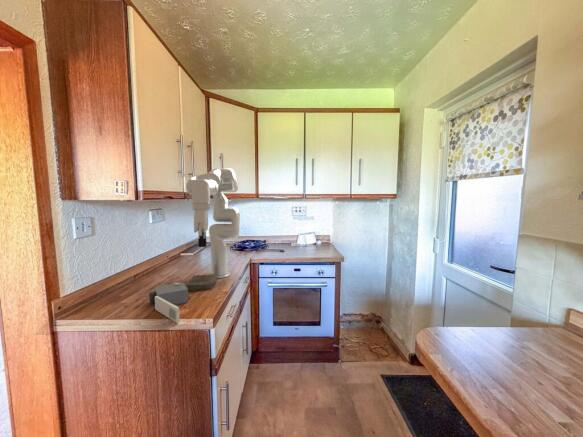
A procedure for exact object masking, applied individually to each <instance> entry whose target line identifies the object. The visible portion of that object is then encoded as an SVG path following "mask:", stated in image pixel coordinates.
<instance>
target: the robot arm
mask: <svg viewBox="0 0 583 437" xmlns="http://www.w3.org/2000/svg"><path fill="white" fill-rule="evenodd" d="M185 190H186V191H187V194H189V195H191V200H192V201H191V202H192V203H191V204H192V207H191V208H192V211H194V212H193V233H197V232H198V233H197V235H198V237H197V238H198V247H199V248H206V247H207V231H208V235H209V241H210V271H211V272H209V273H208V275H210V274H212V275H214V276H215V277H217V279H224V278H227V277H229V276H230V275H231V272H230V271H228V245H227V244H226V242H225V241H226V240H237V239H238V238H239V235H240V210H239V208H237V207H231V206H229V200H228V197H227V196H226V195H224V193H236V192H238V190H239V182H238V178H237V175H236V173H235V171H234V169H232V168H214V169H211V170H210V171H209V172H207V173H203V174H200V175H199V174H198V175H195V176H192V177H191V178H189V179H188V180H187V181H186V184H185ZM211 196H212V197H213V212H212V214H213V215H212V219H213V221H214V222H216V223H214V224H213V223H212V224H211V225H210V226H209V212H208V211H210V210H211ZM224 240H225V241H224Z"/></svg>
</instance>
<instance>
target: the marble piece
mask: <svg viewBox="0 0 583 437" xmlns="http://www.w3.org/2000/svg"><path fill="white" fill-rule="evenodd" d="M217 280H218V278H217V277H215V276H214V275H212V274H210V275H209V274H199V275H198V274H197V275H196V274H195V275H193V276H192V277H191V279H189V280H188V281H186V282H183V283H184V284H185V286H186V287H187V289H188V292H190V291H191V292H192V291H193V292H194V291H203V290H204V291H205V290H212V289H213V287H214V286H215V285H216V283H217Z"/></svg>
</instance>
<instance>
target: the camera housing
mask: <svg viewBox="0 0 583 437" xmlns="http://www.w3.org/2000/svg"><path fill="white" fill-rule="evenodd" d="M184 283H185V282H184V281H181V282H174V283H170V284H163V285H158V286H154V291H150V292H149V293H148V299H149V300H148V301H149V303H150V304H151V303H155V296H159V297H161V298H162V299H164V300H166V301H168V302H170V303H172V304H174V305H175V306H178V305H182V304H186V303H189V291H188V289H187V287H186V286H185V284H184Z"/></svg>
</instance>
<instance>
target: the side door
mask: <svg viewBox="0 0 583 437" xmlns="http://www.w3.org/2000/svg"><path fill="white" fill-rule="evenodd" d="M154 310H156V312H158V313H160V314H162V315H163V316H165V317H167V318H168V319H170V320H171V321H173V322H175V323H176V324H178V323H180V322H181V321H180V319H181V318H180V317H181V316H180V307H179V306H178V305H174V304H172V303H170V302H168V301H166V300H164V299H162V298H161V297H159V296H155V302H154Z"/></svg>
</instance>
